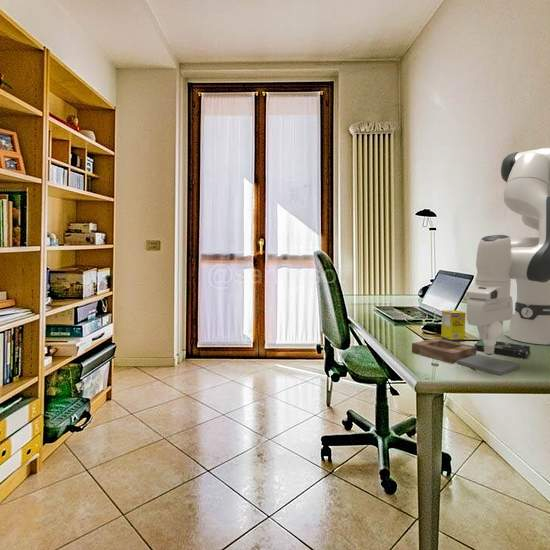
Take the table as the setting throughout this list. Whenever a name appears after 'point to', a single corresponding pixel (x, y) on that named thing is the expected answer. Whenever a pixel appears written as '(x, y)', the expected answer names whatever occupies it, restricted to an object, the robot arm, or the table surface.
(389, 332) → the table surface
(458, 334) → the supplement box
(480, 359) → the mat
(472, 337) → the table surface
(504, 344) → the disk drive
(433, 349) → the holder
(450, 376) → the table surface
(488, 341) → the lightbulb
